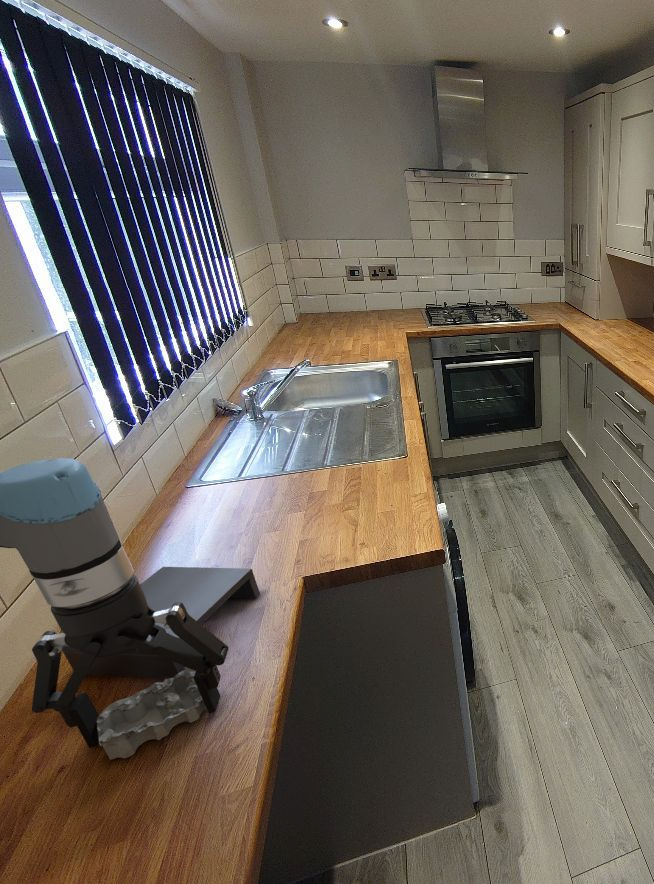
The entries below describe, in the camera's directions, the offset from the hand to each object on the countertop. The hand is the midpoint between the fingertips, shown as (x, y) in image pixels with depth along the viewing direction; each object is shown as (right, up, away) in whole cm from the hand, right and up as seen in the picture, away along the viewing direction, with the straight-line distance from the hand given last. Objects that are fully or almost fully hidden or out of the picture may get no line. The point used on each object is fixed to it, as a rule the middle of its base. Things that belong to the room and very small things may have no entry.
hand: (158, 720), depth 69 cm
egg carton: (0, 0, 0) cm, 0 cm away
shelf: (-10, +6, +15) cm, 19 cm away
